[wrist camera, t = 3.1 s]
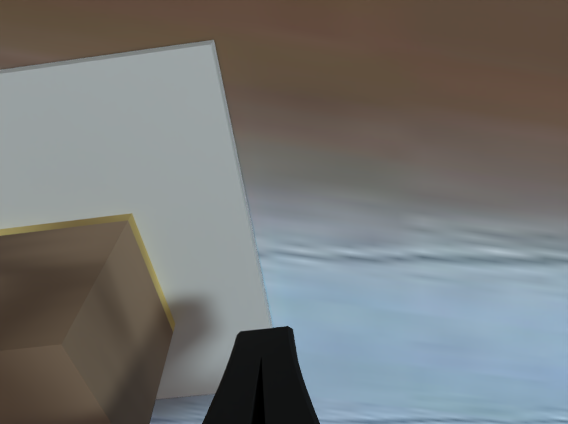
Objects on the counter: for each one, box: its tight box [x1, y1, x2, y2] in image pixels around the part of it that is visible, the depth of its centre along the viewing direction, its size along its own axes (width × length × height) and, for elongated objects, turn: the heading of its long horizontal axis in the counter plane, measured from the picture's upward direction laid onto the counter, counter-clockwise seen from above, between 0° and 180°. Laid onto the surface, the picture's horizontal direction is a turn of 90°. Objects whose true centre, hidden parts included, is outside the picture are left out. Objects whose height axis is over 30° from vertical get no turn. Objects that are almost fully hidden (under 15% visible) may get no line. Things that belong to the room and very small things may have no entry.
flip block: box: [0, 213, 175, 424], centre depth 12 cm, size 5×5×5 cm
